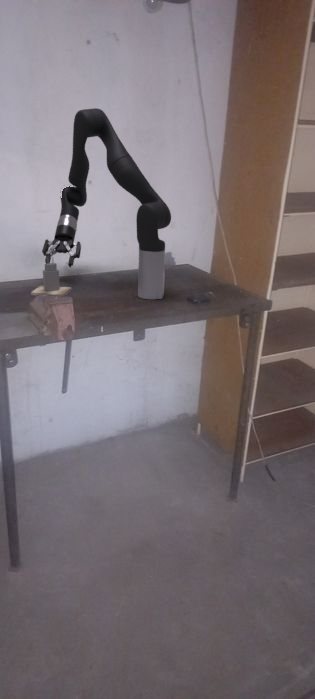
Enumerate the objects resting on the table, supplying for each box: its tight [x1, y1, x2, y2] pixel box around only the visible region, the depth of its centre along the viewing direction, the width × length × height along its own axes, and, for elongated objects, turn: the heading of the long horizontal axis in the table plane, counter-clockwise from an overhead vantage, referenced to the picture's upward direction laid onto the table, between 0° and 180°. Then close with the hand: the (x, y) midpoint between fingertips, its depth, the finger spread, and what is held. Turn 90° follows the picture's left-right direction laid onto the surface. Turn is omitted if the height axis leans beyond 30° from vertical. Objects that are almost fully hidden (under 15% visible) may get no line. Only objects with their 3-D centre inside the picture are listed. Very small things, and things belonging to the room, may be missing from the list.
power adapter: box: [42, 256, 61, 291], centre depth 187 cm, size 3×5×12 cm, turn 120°
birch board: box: [30, 285, 72, 297], centre depth 190 cm, size 12×10×1 cm
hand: (58, 265), depth 196 cm, fingers open, 8 cm apart
